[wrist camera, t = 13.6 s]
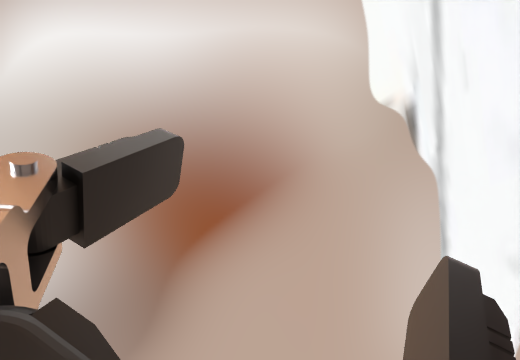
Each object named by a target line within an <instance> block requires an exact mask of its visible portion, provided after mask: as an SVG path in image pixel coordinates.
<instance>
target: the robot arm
mask: <svg viewBox="0 0 520 360" xmlns="http://www.w3.org/2000/svg"><path fill="white" fill-rule="evenodd" d="M183 150H184V141H183V139H182V138H181V137H180V136H177V135H175V134H173V133H171V132H169V131H166V130H164V129H161V128H159V129H155V130H152V131H149V132H147V133H144V134H141V135H138V136H134V137H126V138H121V139H118V140H116V141H112V142H110V144H108V143H106V144H103V145H101V146H99V147H98V148H96V147H94V148H92V149H88V150H85V151H82V152H79V153H76V154H73V155H70V156H67V157H64V158H61V159H58V160H54V159H53V158H52V157H50V156H48V155H45V154H41V153H35V152H17V153H10V154H6V155H3V156H0V360H120V359H119V357H118V356H117V354H116V353H115V352H114V350H113V349H112V348H111V346H110V345H109V344H108V342H107V341H106V339H105V338H104V337H103V335H102V334H101V333H100V331H99V330H98V329H97V327H96V326H95V324H93V323H92V322H90V321H89V320H87V319H86V318H85V317H83V316H82V315H80V314H79V313H77V312H76V311H75V310H73V309H72V308H70V307H69V306H68V305H66V304H65V303H63V302H62V301H61V300H59V299H58V298H55V299H54V300H52V301H51V302H49V303H48V304H46V305H45V306H43V307H42V308H41V309H39V310H38V308H39V304H40V302H41V299H42V297H43V295H44V292H45V290H46V288H47V285H48V283H49V281H50V278H51V276H52V274H53V271H54V269H55V267H56V264H57V262H58V260H59V257H60V255H61V253H62V242H63V241H65V240H67V239H70V240H72V241H73V242H75V243H77V244H78V245H80V246H81V247H83V248H86V247H88V246H89V245H91V244H93V243H94V242H96V241H98V240H99V239H101V238H103V237H104V236H106V235H108V234H109V233H111V232H113V231H114V230H116V229H118V228H119V227H121V226H123V225H124V224H126V223H128V222H129V221H131V220H133V219H134V218H136V217H138V216H139V215H141V214H143V213H144V212H146V211H148V210H149V209H151V208H153V207H154V206H156V205H158V204H159V203H161V202H163V201H164V200H166V199H168V198H169V197H171V196H172V195H173V193H174V192H175V191H176V189H177V187H178V184H179V180H180V173H181V165H182V157H183ZM510 340H511V334H510V329H509V324H508V320H507V318H506V317H505V315H504V313H503V312H502V310H501V309H500V307H499V306H498V304H497V303H496V301H495V300H494V299H492V298H490V297H488V296H486V295H483V293H482V286H481V279H480V272H479V270H478V269H476V268H473V267H471V266H469V265H467V264H464V263H462V262H460V261H458V260H455V259H453V258H451V257H449V256H445V257H443V258H442V260H441V261H440V262H439V264H438V265H437V267H436V269H435V270H434V272H433V274H432V275H431V277H430V278H429V280H428V281H427V283H426V285H425V286H424V288H423V289H422V291H421V293H420V294H419V296H418V297H417V299H416V301H415V303H414V305H413V307H412V310H411V312H410V316H409V319H408V325H407V333H406V340H405V348H404V356H403V360H516V358H515V357H514V354H515V353H514V348H513V343H512V341H510Z"/></svg>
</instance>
